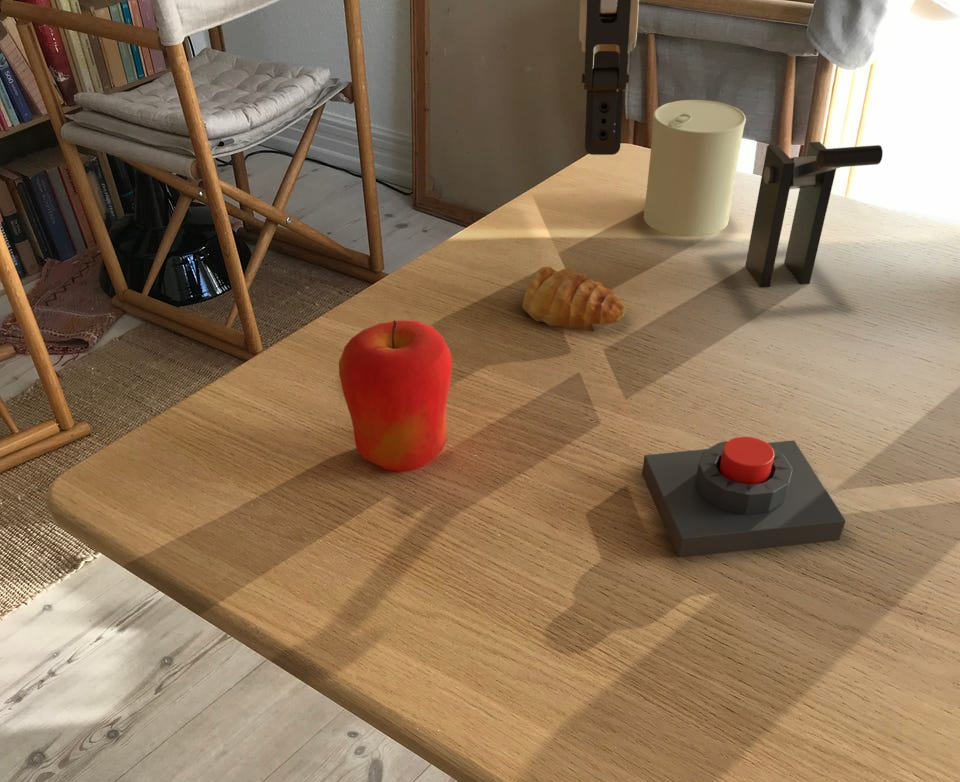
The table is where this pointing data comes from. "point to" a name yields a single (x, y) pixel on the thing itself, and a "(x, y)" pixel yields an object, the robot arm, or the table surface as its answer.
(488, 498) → the table surface
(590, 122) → the robot arm
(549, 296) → the pastry
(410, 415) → the apple
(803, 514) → the button box
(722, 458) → the button
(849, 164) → the lever
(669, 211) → the can
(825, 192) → the bracket
